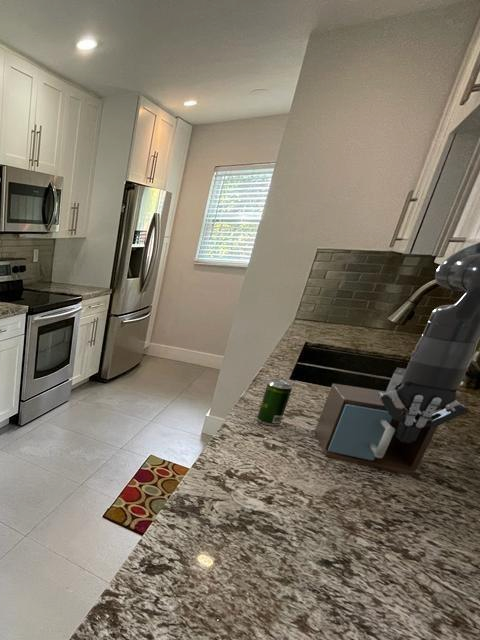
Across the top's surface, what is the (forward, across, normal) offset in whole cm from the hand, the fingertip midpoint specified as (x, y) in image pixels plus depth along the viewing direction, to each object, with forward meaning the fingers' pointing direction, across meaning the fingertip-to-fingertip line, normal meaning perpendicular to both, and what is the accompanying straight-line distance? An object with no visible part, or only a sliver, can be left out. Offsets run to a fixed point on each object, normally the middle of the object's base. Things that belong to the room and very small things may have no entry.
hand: (403, 440), depth 84 cm
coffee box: (+9, +8, +33) cm, 35 cm away
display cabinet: (+9, -2, +13) cm, 16 cm away
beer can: (+9, -20, +20) cm, 29 cm away
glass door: (+8, -5, +3) cm, 10 cm away
